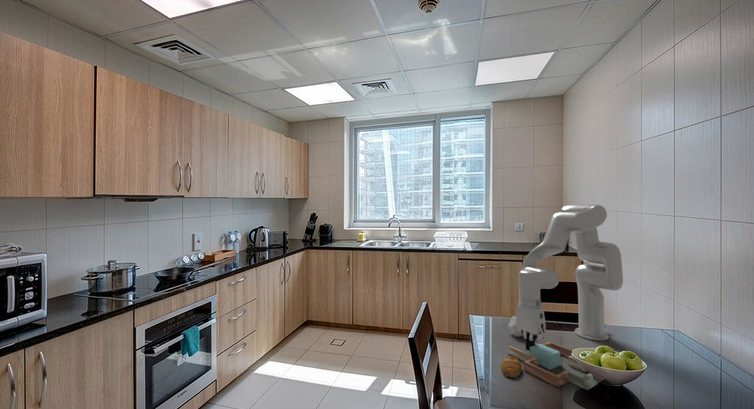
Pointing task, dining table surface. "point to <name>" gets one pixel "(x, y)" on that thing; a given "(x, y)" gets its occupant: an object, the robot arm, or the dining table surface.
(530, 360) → the wooden zigzag track
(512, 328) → the die
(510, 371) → the pastry
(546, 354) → the teal block
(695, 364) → the dining table surface
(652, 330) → the dining table surface
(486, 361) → the dining table surface
